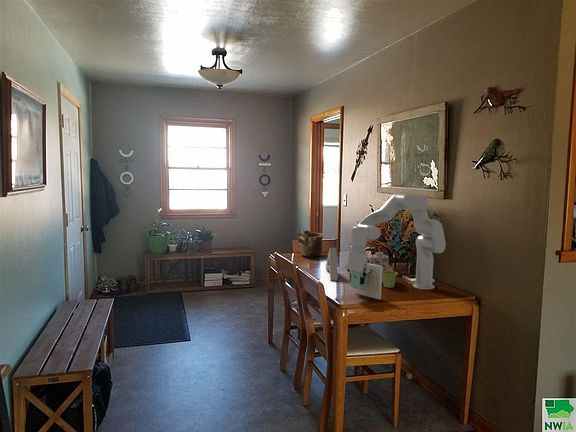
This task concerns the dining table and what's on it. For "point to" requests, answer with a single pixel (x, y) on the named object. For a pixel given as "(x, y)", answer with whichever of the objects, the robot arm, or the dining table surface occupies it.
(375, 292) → the wall board
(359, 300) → the dining table surface
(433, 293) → the dining table surface
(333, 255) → the wall bracket
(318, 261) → the dining table surface
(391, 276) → the plant pot
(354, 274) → the teal cabinet
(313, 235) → the ceramic vessel
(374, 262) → the decorative jar
